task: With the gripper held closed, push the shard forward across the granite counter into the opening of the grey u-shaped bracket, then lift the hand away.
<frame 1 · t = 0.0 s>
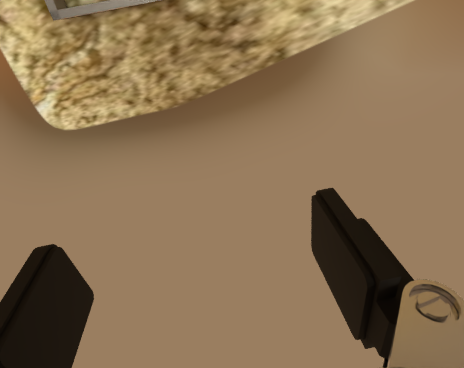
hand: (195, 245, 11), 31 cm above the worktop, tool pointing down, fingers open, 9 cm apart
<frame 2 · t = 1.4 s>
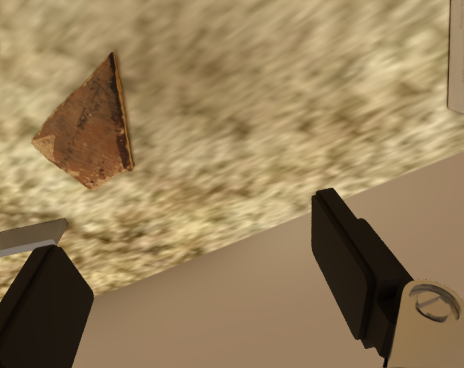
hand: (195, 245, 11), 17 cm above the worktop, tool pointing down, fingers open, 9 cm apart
shard: (83, 122, 25), on the worktop
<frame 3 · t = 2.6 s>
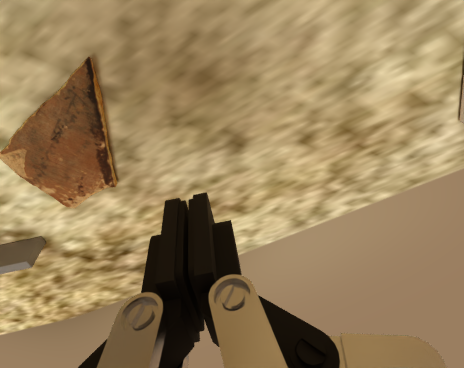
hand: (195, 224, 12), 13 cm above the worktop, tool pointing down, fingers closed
shard: (59, 133, 22), on the worktop
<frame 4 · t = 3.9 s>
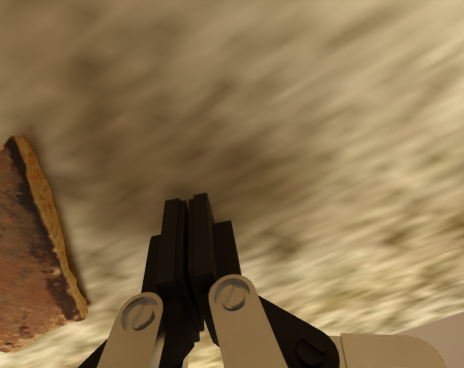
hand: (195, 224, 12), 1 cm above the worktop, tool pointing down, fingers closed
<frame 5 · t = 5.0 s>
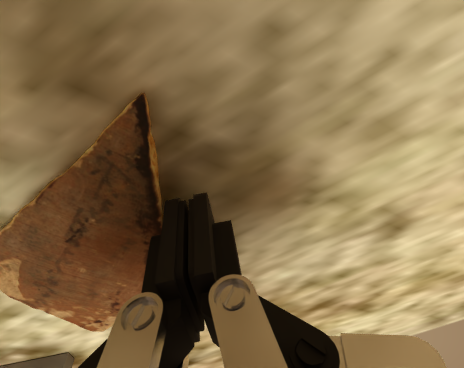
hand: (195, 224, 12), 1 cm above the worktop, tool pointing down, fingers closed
shard: (78, 217, 13), on the worktop, touching gripper
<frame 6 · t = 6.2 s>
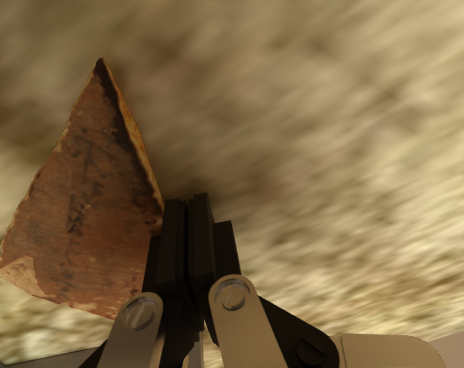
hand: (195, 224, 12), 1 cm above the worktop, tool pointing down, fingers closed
shard: (82, 209, 13), on the worktop, touching gripper
grey u-shaped bracket: (20, 243, 12), on the worktop
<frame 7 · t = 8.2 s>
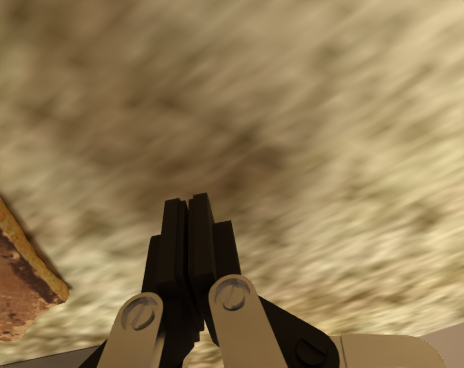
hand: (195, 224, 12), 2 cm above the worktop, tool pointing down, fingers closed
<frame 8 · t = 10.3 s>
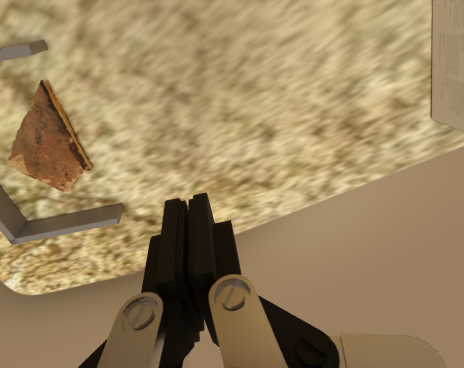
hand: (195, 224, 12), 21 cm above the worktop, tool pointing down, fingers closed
shard: (43, 139, 31), on the worktop
grey u-shaped bracket: (36, 149, 31), on the worktop
skincare box: (455, 18, 29), on the worktop
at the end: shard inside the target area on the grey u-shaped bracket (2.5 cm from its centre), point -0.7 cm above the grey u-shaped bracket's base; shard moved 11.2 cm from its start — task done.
